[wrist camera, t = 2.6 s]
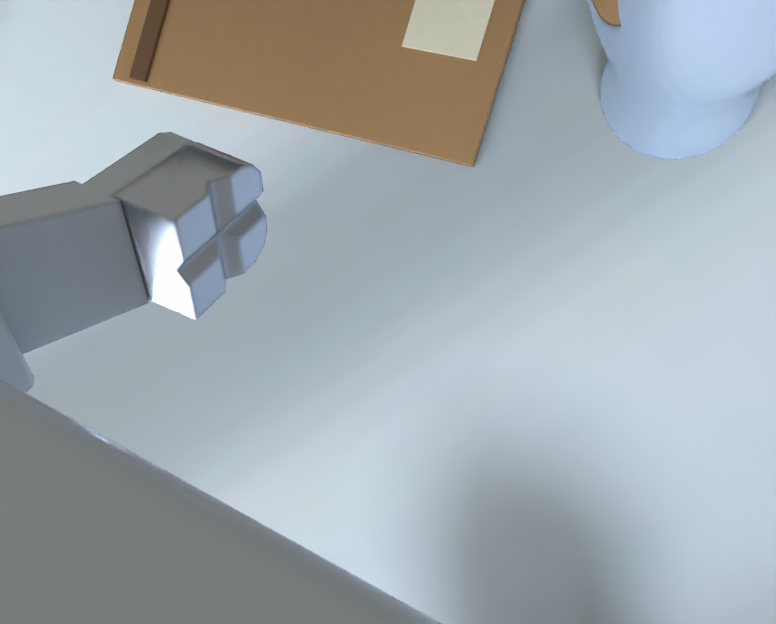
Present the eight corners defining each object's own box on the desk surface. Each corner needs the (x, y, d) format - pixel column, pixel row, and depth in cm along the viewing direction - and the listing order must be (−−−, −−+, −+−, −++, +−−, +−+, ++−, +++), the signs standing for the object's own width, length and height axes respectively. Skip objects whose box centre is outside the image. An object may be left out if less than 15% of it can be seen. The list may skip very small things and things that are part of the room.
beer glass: (782, 3, 27) (986, -372, 13) (758, 177, 27) (936, -8, 13) (600, 4, 29) (603, -320, 15) (578, 165, 29) (559, -6, 15)
